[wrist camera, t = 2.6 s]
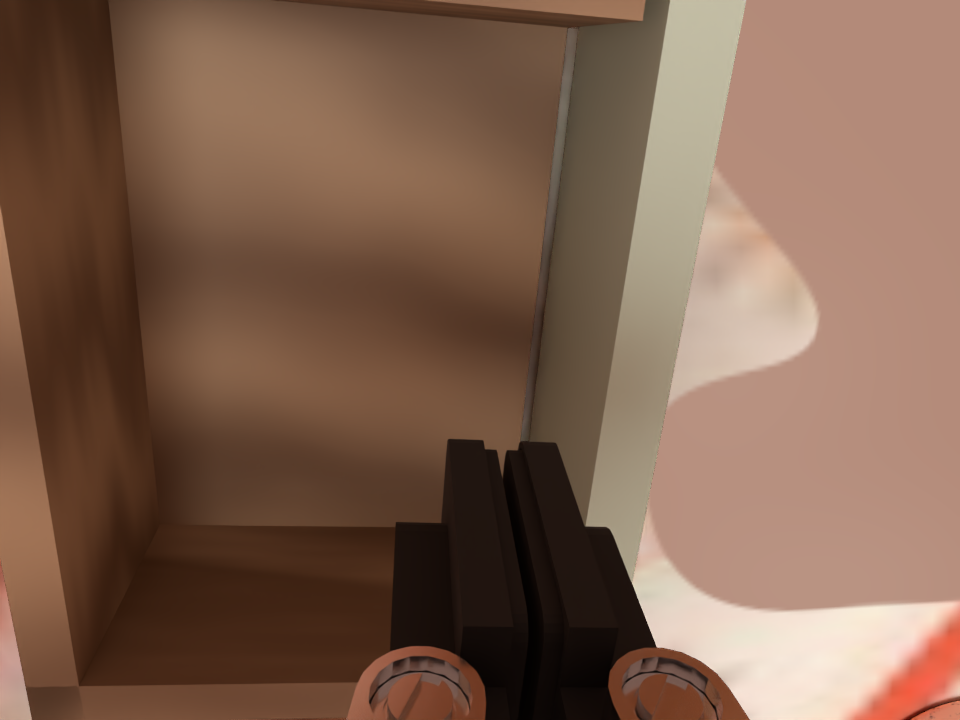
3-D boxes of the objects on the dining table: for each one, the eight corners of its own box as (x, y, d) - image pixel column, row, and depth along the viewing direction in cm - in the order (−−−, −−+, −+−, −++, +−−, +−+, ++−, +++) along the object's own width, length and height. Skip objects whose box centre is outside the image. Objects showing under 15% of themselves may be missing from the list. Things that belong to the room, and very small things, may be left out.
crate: (501, 533, 27) (538, 713, 20) (138, 529, 26) (33, 724, 18) (562, -20, 20) (653, -55, 13) (71, -69, 19) (-140, -141, 11)
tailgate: (556, 540, 27) (607, 707, 20) (517, 540, 27) (556, 708, 20) (634, -7, 20) (752, -31, 13) (583, -12, 20) (676, -40, 13)
